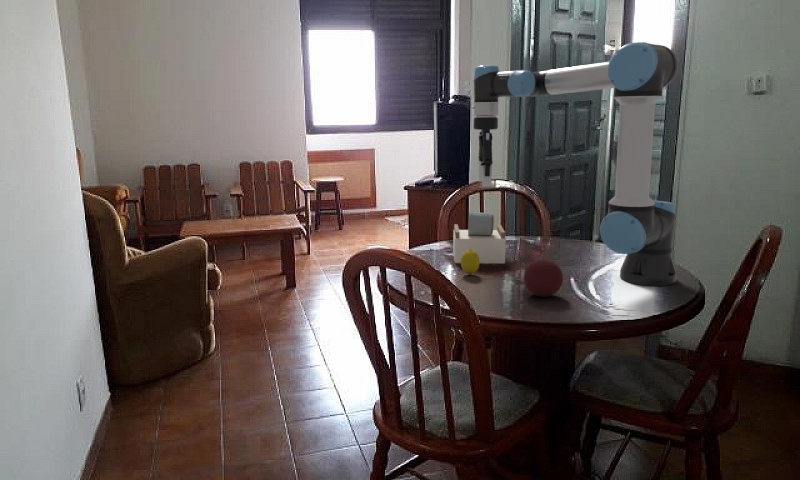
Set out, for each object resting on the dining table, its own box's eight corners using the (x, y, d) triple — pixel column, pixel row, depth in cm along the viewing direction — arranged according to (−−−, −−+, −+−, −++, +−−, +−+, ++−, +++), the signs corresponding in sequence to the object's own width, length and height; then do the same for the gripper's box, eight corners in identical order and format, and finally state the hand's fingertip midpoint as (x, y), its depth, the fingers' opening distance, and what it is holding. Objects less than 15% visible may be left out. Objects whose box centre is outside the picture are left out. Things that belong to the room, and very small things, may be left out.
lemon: (456, 275, 187) (457, 249, 186) (468, 271, 191) (468, 246, 189) (471, 278, 184) (472, 252, 182) (482, 274, 188) (483, 248, 186)
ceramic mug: (493, 237, 200) (494, 213, 199) (468, 237, 201) (468, 213, 200) (491, 231, 211) (492, 208, 209) (467, 231, 212) (467, 208, 210)
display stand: (505, 263, 200) (505, 232, 198) (454, 263, 201) (455, 232, 199) (500, 253, 214) (501, 224, 212) (453, 252, 215) (453, 224, 213)
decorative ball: (530, 288, 174) (532, 253, 172) (566, 293, 169) (568, 257, 167) (518, 298, 165) (519, 261, 163) (555, 304, 160) (557, 266, 158)
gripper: (471, 116, 210) (470, 179, 214) (476, 117, 185) (476, 189, 190) (493, 115, 209) (492, 179, 214) (502, 117, 185) (501, 189, 189)
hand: (484, 184), depth 202 cm, fingers open, 13 cm apart
